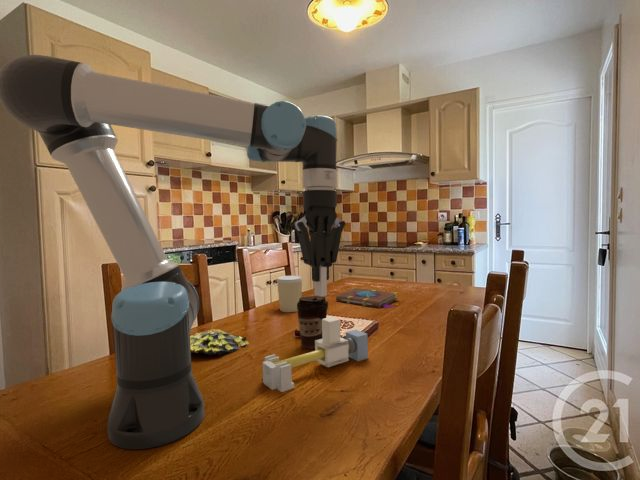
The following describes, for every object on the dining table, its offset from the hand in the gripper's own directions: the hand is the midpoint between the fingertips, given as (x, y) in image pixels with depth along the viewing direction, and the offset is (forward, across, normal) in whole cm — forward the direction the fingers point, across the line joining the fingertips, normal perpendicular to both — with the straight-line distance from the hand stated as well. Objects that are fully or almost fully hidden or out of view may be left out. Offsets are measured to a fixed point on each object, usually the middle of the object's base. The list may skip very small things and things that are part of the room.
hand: (320, 295), depth 82 cm
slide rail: (+17, -1, 0) cm, 17 cm away
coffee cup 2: (+17, +7, +13) cm, 23 cm away
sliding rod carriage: (+16, +3, 0) cm, 16 cm away
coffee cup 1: (+17, +21, +49) cm, 56 cm away
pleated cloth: (+18, -15, +32) cm, 39 cm away
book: (+17, +52, +38) cm, 67 cm away
